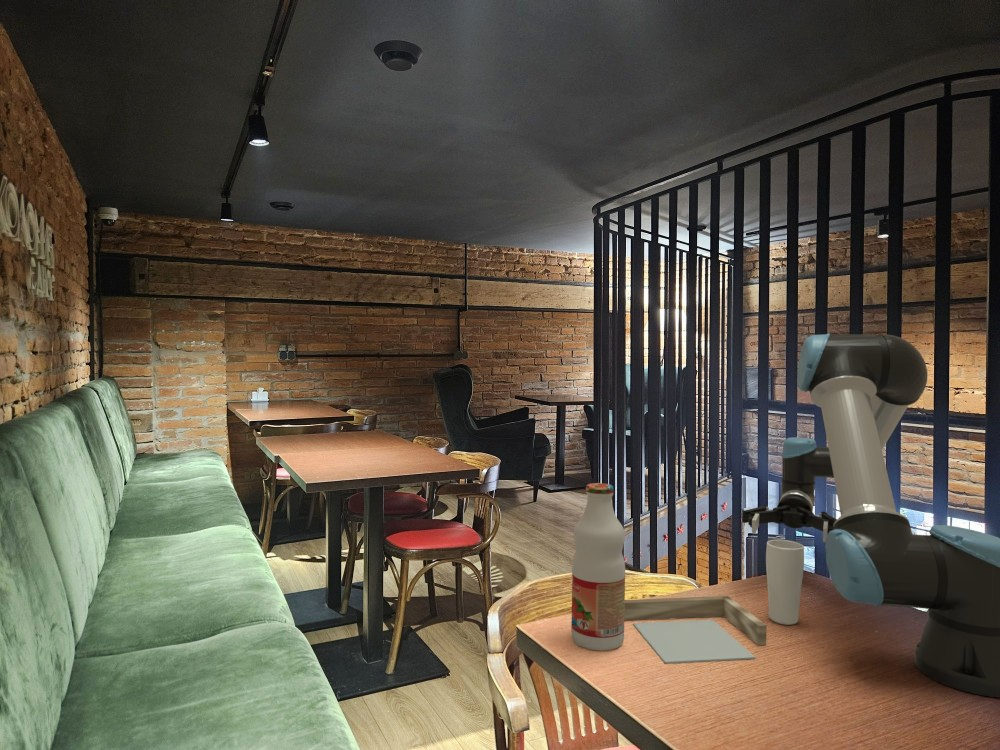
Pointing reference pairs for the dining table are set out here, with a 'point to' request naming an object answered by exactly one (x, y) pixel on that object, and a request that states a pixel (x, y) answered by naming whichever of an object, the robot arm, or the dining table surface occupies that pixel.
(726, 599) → the birch walls
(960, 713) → the dining table surface
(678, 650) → the pad
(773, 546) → the drinking glass
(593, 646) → the fruit juice
